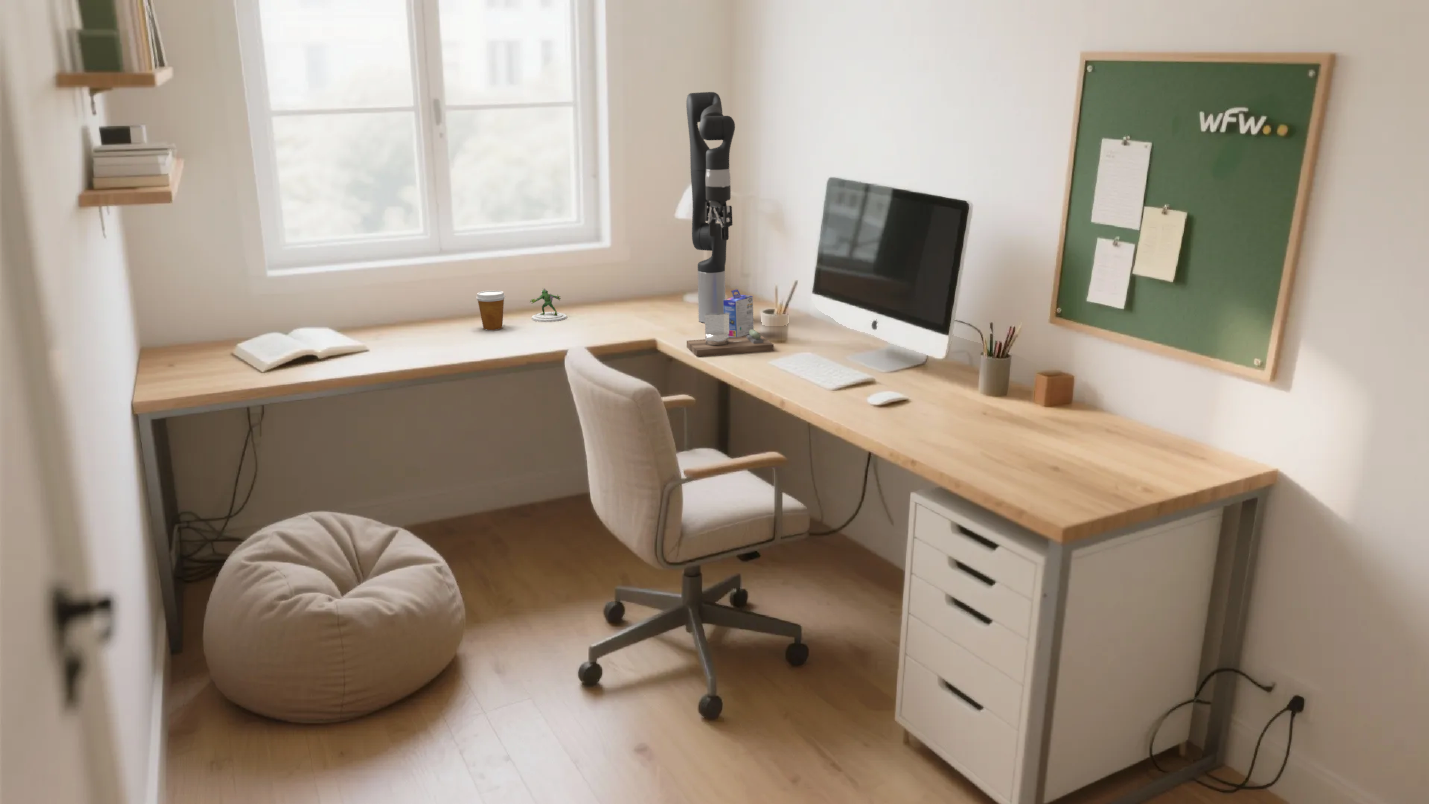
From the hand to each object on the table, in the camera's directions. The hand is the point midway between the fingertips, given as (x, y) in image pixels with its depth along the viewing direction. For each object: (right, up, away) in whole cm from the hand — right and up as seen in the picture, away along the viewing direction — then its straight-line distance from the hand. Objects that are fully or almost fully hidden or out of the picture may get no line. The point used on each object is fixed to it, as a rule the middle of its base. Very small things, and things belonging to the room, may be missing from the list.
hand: (718, 238), depth 339 cm
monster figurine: (-59, -21, +48) cm, 79 cm away
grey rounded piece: (-1, -32, 0) cm, 32 cm away
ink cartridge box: (+7, -28, +20) cm, 35 cm away
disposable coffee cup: (-76, -25, +34) cm, 87 cm away
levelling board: (+3, -34, +1) cm, 34 cm away
